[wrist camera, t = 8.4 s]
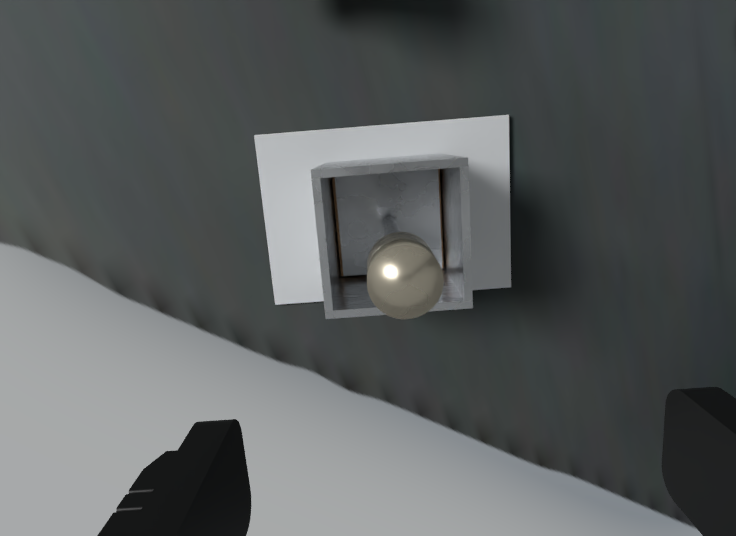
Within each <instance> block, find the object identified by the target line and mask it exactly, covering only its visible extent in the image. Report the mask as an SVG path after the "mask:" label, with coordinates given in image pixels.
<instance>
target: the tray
mask: <svg viewBox="0 0 736 536" xmlns="http://www.w3.org/2000/svg"><path fill="white" fill-rule="evenodd" d="M254 138H255V146H256V154H257V162H258V170H259V178H260V186H261V194H262V202H263V210H264V218H265V226H266V234H267V242H268V250H269V258H270V266H271V274H272V282H273V290H274V298H275V305H279V304H292V303H306V302H319V301H324V297H323V288H322V278H321V268H320V258H319V248H318V238H317V229H316V219H315V209H314V199H313V189H312V179H311V169H313V168H316V167H318V166H320V165H322V164H324V163H326V162H334V161H347V160H359V159H372V158H385V157H397V156H410V155H423V154H435V153H442V154H449V155H455V156H462V157H468V165H469V197H470V230H471V262H472V290H482V289H495V288H509V287H511V236H510V155H509V115H501V116H488V117H476V118H463V119H451V120H438V121H426V122H413V123H401V124H388V125H376V126H363V127H351V128H338V129H326V130H313V131H300V132H288V133H275V134H263V135H254Z"/></svg>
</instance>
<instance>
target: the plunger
mask: <svg viewBox="0 0 736 536" xmlns="http://www.w3.org/2000/svg"><path fill="white" fill-rule="evenodd" d="M335 188H336V199H337V210H338V221H339V232H340V243H341V254H342V265H343V276H352V275H365V274H367V289H368V293H369V296H370V298H371V300H372V302H373V303H374V305H375V306H376V307H377V308H378V309H379V310H380V311H382V312H383V313H384V314H386V315H388V316H391V317H393V318H398V319H412V318H416V317H419V316H421V315H423V314H425V313H427V312H428V311H429V310H431V309H432V308H433V307H434V306H435V304H436V303H437V302H438V300H439V298H440V296H441V294H442V291H443V285H444V278H443V272H442V247H441V224H440V202H439V179H438V169H430V170H417V171H404V172H392V173H379V174H366V175H353V176H340V177H335Z"/></svg>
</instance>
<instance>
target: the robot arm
mask: <svg viewBox="0 0 736 536" xmlns="http://www.w3.org/2000/svg"><path fill="white" fill-rule="evenodd" d="M662 473H663V478H664V482H665V485H666V487H667V490H668V492H669V494H670V496H671V498H672V499H673V501H674V502H675V503H676V504H677V506H678V507H679V508H680V509H681V510H682V511H683V513H684V514H685V515H686V516H687V517H688V519H689V520H690V521H691V522H692V523H693V524H694V526H695V527H696V528H697V529H698V530H699V531H700V533H701V534H702V535H703V536H736V399H735V398H734V397H732V396H731V395H730V394H728V393H727V392H725V391H724V390H722V389H721V388H718V387H706V388H691V389H677V390H672V391H671V392H670V393H669V394H668V396H667V399H666V405H665V421H664V437H663V452H662ZM250 515H251V491H250V484H249V477H248V471H247V465H246V459H245V451H244V445H243V438H242V432H241V427H240V424H239V422H238V421H237V420H236V419H233V420H219V421H204V422H196V423H195V424H194V425H193V427H192V428H191V430H190V431H189V433H188V435H187V436H186V438H185V439H184V441H183V443H182V444H181V446H180V448H179V449H178V451H166V452H165V453H164V454H162V455H161V456H160V457H159V458H157V459H156V460H155V461H153V462H152V463H151V464H150V465H148V466H147V467H146V468H145V469H143V471H142V472H141V473H140V475H139V477H138V478H137V479H136V481H135V482H134V484H133V485H132V487H131V488H130V490H129V494H127V495H125V497H124V498H123V500H122V501H121V502H120V504H119V505H118V507H117V511H116V513H113V514H112V516H111V517H110V518H109V520H108V521H107V523H106V524H105V526H104V527H103V529H102V530H101V532H100V533H99V534H98V536H246V534H247V531H248V527H249V522H250Z"/></svg>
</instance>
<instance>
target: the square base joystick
mask: <svg viewBox="0 0 736 536" xmlns="http://www.w3.org/2000/svg"><path fill="white" fill-rule="evenodd" d="M430 169H438V179H439V202H440V224H441V247H442V272H443V278H444V285H443V291H442V294H441V296H440V298H439V300H438V302H437V303H436V304H435V306H434V307H433V308H432V309H431V310H429V311H442V310H456V309H469V308H473V294H472V262H471V230H470V197H469V165H468V157H462V156H455V155H449V154H442V153H435V154H423V155H410V156H397V157H385V158H372V159H359V160H347V161H334V162H326V163H324V164H322V165H320V166H318V167H316V168H313V169H311V179H312V189H313V199H314V209H315V219H316V229H317V238H318V248H319V258H320V268H321V278H322V288H323V297H324V307H325V317H326V319H333V318H346V317H360V316H374V315H386V314H384V313H383V312H382V311H380V310H379V309H378V308H377V307H376V306H375V305H374V303H373V302H372V300H371V298H370V296H369V293H368V289H367V274H365V275H352V276H343V265H342V254H341V243H340V232H339V221H338V210H337V199H336V188H335V177H340V176H353V175H366V174H379V173H392V172H404V171H417V170H430Z"/></svg>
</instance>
